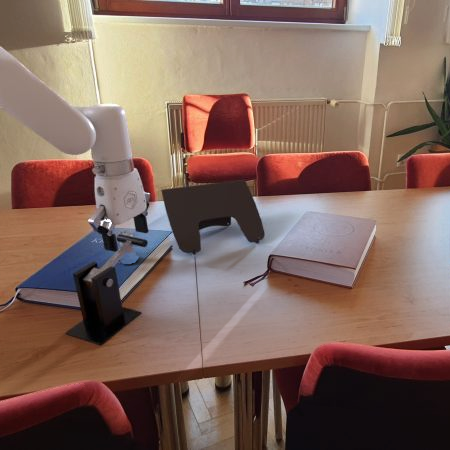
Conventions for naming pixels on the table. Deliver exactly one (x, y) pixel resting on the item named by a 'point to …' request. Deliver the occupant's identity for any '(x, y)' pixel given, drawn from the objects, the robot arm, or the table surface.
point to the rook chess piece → (127, 235)
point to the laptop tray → (211, 211)
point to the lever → (115, 256)
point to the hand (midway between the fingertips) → (127, 240)
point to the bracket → (100, 306)
